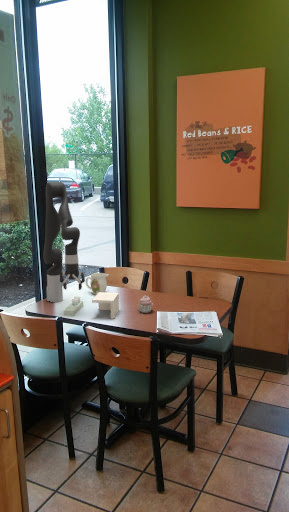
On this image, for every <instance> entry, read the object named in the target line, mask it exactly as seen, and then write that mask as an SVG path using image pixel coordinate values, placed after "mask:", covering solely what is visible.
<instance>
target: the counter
mask: <svg viewBox="0 0 289 512" xmlns="http://www.w3.org/2000/svg"><path fill="white" fill-rule="evenodd" d="M119 299H120V295H119V292H108V291H105V292H99V293H98V294H97V295H95V296H94V297H93V298H92V299H91V303H95V304H98V310H99V311H110V320H113V319H115V318H116V315H117V314H118V312H119V311H120V306H119V305H120V302H119V301H120V300H119Z"/></svg>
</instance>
